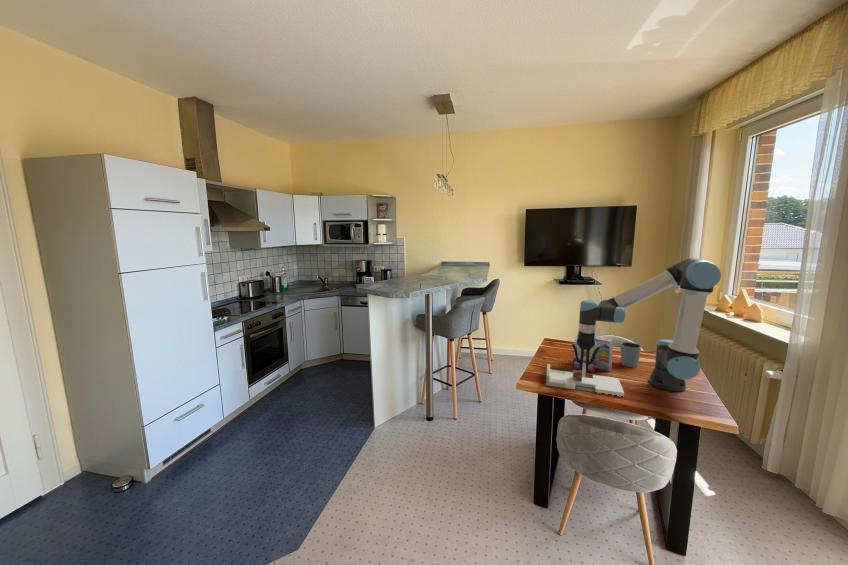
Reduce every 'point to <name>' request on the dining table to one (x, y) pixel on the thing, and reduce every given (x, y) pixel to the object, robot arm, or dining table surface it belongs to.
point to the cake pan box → (603, 353)
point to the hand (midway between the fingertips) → (583, 376)
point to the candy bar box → (577, 365)
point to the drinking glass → (630, 354)
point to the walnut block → (577, 375)
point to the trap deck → (584, 382)
